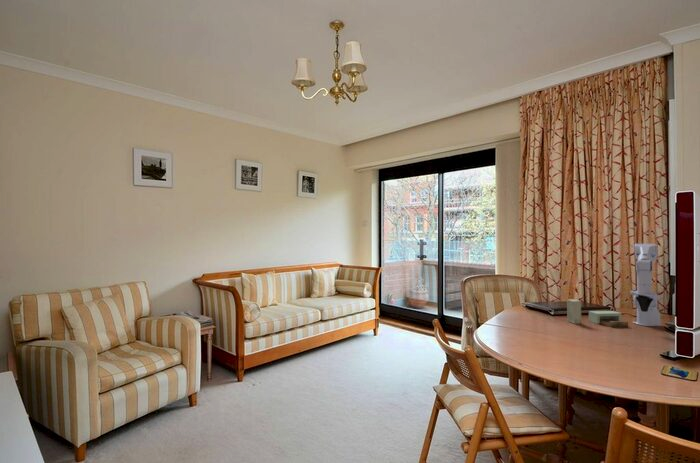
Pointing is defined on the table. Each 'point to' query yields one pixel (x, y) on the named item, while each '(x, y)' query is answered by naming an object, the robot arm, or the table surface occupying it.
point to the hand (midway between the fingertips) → (644, 311)
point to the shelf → (603, 316)
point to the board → (613, 323)
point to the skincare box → (574, 311)
